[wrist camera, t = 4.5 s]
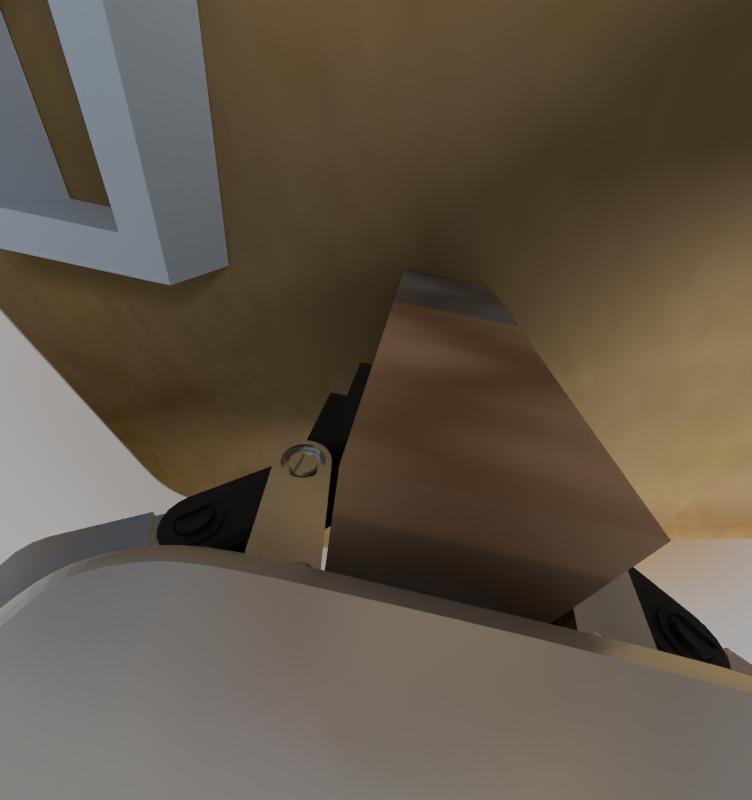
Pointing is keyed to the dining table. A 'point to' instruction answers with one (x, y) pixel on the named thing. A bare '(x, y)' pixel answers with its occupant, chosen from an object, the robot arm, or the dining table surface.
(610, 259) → the dining table surface
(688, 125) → the dining table surface
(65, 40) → the blue stepped tray
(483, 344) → the wooden rectangular block
